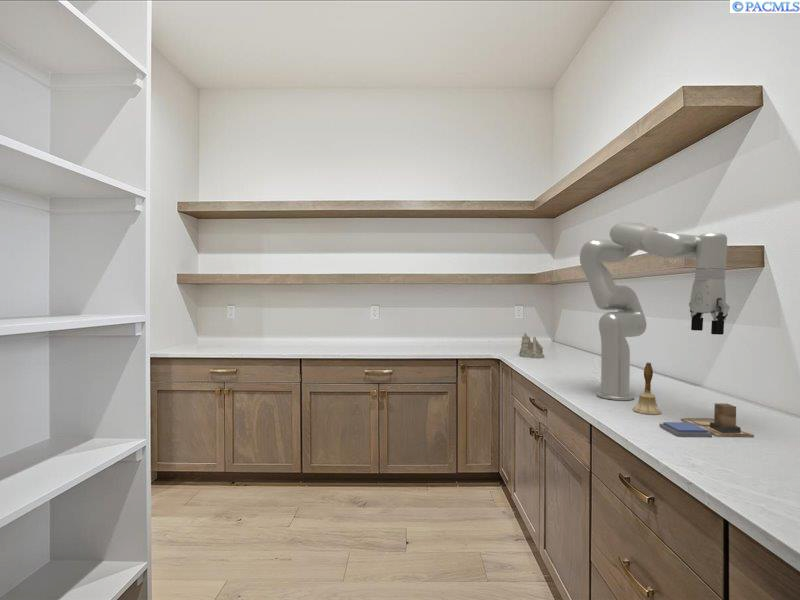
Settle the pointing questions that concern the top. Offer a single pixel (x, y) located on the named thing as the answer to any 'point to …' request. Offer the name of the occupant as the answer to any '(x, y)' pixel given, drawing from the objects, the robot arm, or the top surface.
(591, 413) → the top surface
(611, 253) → the robot arm
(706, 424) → the board
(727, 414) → the stamp
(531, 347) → the castle ruin model
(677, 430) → the ink pad
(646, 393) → the hand bell
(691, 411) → the top surface
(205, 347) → the top surface
